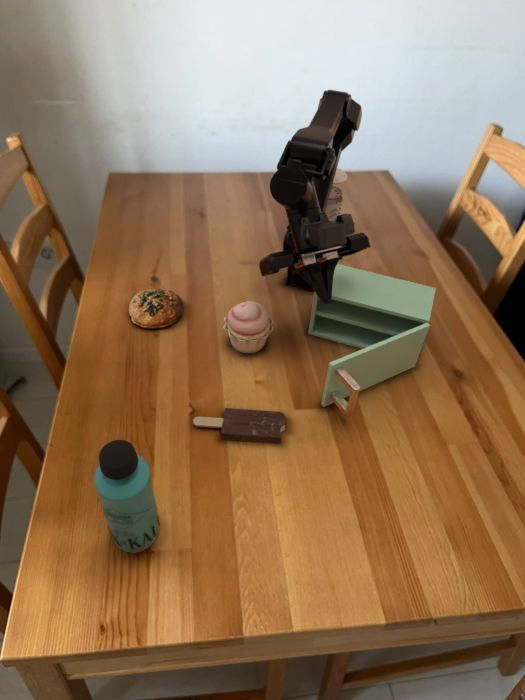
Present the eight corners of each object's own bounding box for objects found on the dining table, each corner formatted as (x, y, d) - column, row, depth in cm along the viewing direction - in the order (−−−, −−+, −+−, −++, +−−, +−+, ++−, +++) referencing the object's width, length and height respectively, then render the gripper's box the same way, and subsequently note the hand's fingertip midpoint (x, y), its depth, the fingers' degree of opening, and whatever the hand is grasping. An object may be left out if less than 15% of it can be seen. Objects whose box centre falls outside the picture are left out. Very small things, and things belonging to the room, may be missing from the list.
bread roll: (196, 311, 103) (191, 292, 99) (153, 343, 98) (146, 325, 94) (161, 288, 108) (155, 269, 104) (118, 317, 103) (111, 299, 99)
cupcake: (248, 319, 102) (249, 279, 95) (282, 343, 97) (286, 303, 90) (212, 341, 97) (211, 300, 90) (246, 367, 93) (247, 326, 86)
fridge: (413, 363, 95) (429, 320, 88) (307, 334, 100) (314, 291, 92) (420, 329, 102) (436, 287, 95) (321, 303, 107) (328, 261, 99)
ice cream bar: (191, 437, 81) (285, 444, 81) (190, 431, 80) (286, 438, 80) (195, 411, 85) (285, 417, 85) (195, 405, 84) (286, 411, 84)
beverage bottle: (116, 515, 72) (88, 429, 57) (164, 512, 72) (148, 426, 58) (110, 561, 67) (78, 480, 53) (161, 558, 68) (144, 477, 53)
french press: (348, 225, 129) (367, 124, 112) (327, 245, 122) (343, 141, 104) (314, 212, 133) (327, 113, 115) (291, 232, 126) (301, 129, 108)
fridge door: (434, 385, 92) (451, 343, 84) (341, 429, 84) (352, 387, 76) (411, 363, 95) (427, 322, 88) (320, 404, 87) (329, 362, 80)
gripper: (270, 209, 75) (298, 312, 76) (376, 188, 82) (400, 283, 82) (247, 229, 86) (272, 319, 87) (342, 209, 92) (364, 293, 93)
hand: (327, 303), depth 87 cm, fingers closed
